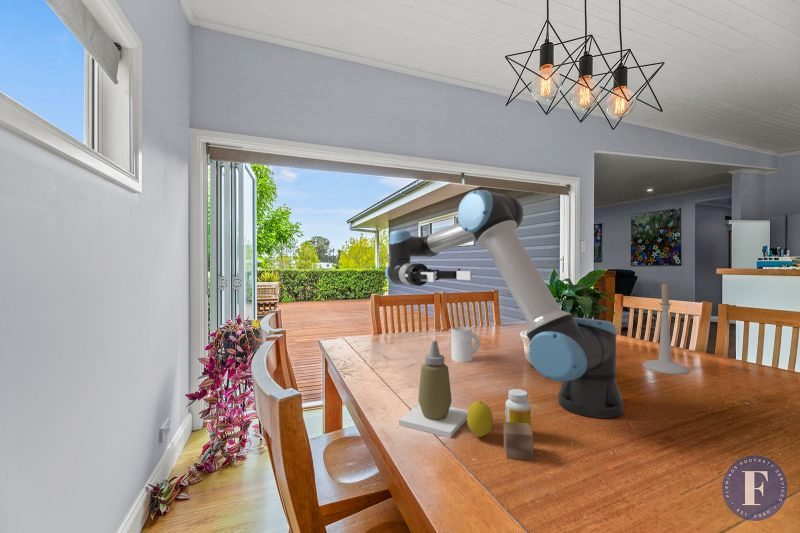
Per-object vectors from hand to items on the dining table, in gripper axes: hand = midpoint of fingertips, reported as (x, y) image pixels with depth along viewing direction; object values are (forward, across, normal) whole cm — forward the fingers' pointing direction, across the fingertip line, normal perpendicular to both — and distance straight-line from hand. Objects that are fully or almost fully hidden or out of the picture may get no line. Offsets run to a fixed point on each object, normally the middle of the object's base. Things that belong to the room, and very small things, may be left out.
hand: (453, 276), depth 107 cm
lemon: (+25, +13, -34) cm, 44 cm away
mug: (-25, -26, -34) cm, 50 cm away
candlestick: (+21, -76, -34) cm, 86 cm away
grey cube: (+33, +10, -34) cm, 49 cm away
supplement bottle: (+28, +5, -34) cm, 45 cm away
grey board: (+13, +16, -34) cm, 40 cm away
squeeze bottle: (+12, +16, -33) cm, 39 cm away
